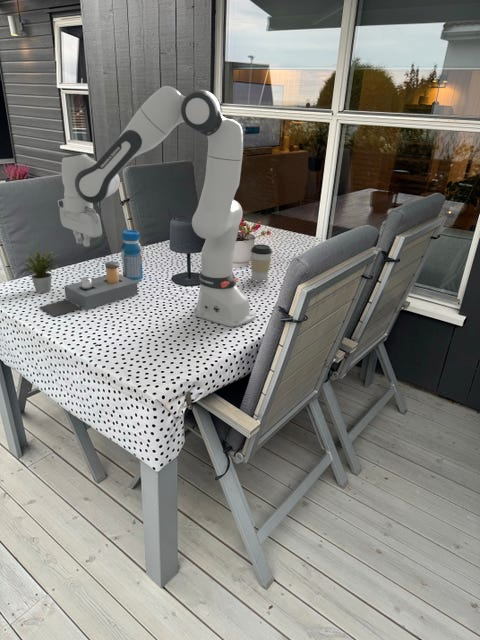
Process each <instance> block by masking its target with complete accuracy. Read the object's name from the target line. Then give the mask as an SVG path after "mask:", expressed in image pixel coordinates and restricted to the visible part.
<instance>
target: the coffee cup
mask: <svg viewBox="0 0 480 640" xmlns="http://www.w3.org/2000/svg"><path fill="white" fill-rule="evenodd" d="M250 252H251V255H250V259H251V260H250V264H251V265H250V268H251V280H252V279H254V280H257V281H263V280H266V279H267V280H268V275H269V271H270V266H271V259H272V253H273V251H272V249H271V247H270V246H269V245H267V244H254V245H253V246H252V247H251V249H250ZM254 280H253V281H254ZM267 280H266V281H267ZM257 281H256V282H257Z"/></svg>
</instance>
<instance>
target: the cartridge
mask: <svg viewBox="0 0 480 640" xmlns="http://www.w3.org/2000/svg"><path fill="white" fill-rule="evenodd" d="M104 266H105V273H106V275H107V283H109V284H115V283H119V275H120V274H119V262H118V261H107V262H104Z"/></svg>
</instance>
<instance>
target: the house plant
mask: <svg viewBox="0 0 480 640" xmlns="http://www.w3.org/2000/svg"><path fill="white" fill-rule="evenodd" d="M54 252H55V251H51V252H49V253H48V249H46V250H45V252H44V253H43V254H42V256H41V255H40V253H39V250H38V249H37V248H35V257H34V256H33V255H30V254H26V253H25V255H26V256H25V258H22V261H26V262H28V264H23V267H27V268H30V269H28V272H27V273H28V275H30V274H31V276H30V277H31V280H32V283H33V285H34V289H35V291H36V293H38V294H47V293H50V292H52V276H53V275H52V270H51V269H53V268H54V269H55V268H58V266H59V264H58V263H52V262H55V261H59V260H61V258H56V257H58V256H60V255H59V254H58V255H53V256H51V255H52V254H53V253H54ZM47 253H48V254H47ZM45 256H46V257H45ZM50 263H52V264H50Z"/></svg>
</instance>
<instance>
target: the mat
mask: <svg viewBox="0 0 480 640" xmlns="http://www.w3.org/2000/svg"><path fill="white" fill-rule="evenodd" d="M39 309H40V310H41V311H43V312H45V313H47V314H49V315H50V316H52V317H53V318H56V317H59V316H62V315H66V314H69V313H72V312H73V313H74V312H76V311H80V310H82V307H80V306H78V305H77V304H75V303H73V302H71V301H69V300H68V299H63V300H60V301H59V300H58V301H56V302H52V303H49V304H45V305H41V306H39Z"/></svg>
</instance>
